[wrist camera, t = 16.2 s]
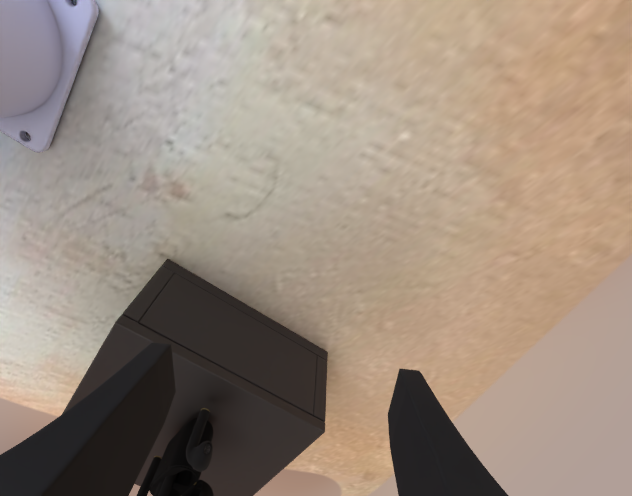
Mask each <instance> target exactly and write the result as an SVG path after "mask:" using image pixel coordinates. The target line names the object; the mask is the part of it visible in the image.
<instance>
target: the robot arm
mask: <svg viewBox="0 0 632 496" xmlns="http://www.w3.org/2000/svg"><path fill="white" fill-rule="evenodd" d="M98 13H99V9H98V5H97V3H96V1H95V0H77V4H76V6H74V5H73V4H72V2H71V0H0V131H1V132H3V133H4V134H6V135H8V136H9V137H11V138H13V139H14V140H16V141H18V142H19V143H21V144H23V145H24V146H26V147H28V148H29V149H31V150H33V151H35V152H43V151H46V150H48V148H49V147H50V144H51V141H52V139H53V136H54V133H55V131H56V128H57V125H58V123H59V120H60V117H61V114H62V112H63V109H64V106H65V104H66V101H67V98H68V96H69V93H70V90H71V87H72V85H73V82H74V79H75V77H76V74H77V71H78V69H79V66H80V63H81V60H82V58H83V55H84V52H85V50H86V47H87V44H88V42H89V39H90V36H91V33H92V31H93V28H94V25H95V23H96V20H97V17H98ZM25 132H27V133H28V134H29V135H30V140H29V139H28V138H27V137H26V135H25ZM175 393H176V387H175V378H174V368H173V358H172V348H171V344H162V343H153V342H152V343H150V344H149V345H148V346H147V347H146V348H144V349H143V350H142V351H141V352H140V353H138V354H137V355H136V356H135V357H134V358H133V359H131V360H130V361H129V362H128V363H127V364H125V365H124V366H123V367H122V368H121V369H120V370H118V371H117V372H116V373H115V374H114V375H112V376H111V377H110V378H109V379H107V380H106V381H105V382H104V383H103V384H101V385H100V386H99V387H98V388H96V389H95V390H94V391H93V392H91V393H90V394H89V395H88V396H86V397H85V398H84V399H82V400H81V401H80V402H78V403H77V404H76V405H74V406H73V407H72V408H70V409H69V410H68V411H66V412H65V413H64V414H62V415H61V416H60V417H58V418H57V419H55V420H54V421H52V422H51V423H50V424H48V425H47V426H45V427H44V428H42V429H41V430H39V431H38V432H36V433H35V434H33V435H32V436H30V437H29V438H27V439H26V440H24V441H23V442H21V443H20V444H18V445H16V446H15V447H13V448H11V449H10V450H8V451H6V452H5V453H3V454H1V455H0V496H128V495H129V493H130V491H131V489H132V487H133V485H134V483H135V481H136V479H137V477H138V475H139V473H140V471H141V469H142V467H143V465H144V463H145V461H146V459H147V458H148V456H149V454H150V452H151V450H152V448H153V446H154V443H155V441H156V439H157V437H158V435H159V433H160V431H161V429H162V427H163V425H164V423H165V420H166V418H167V415H168V412H169V410H170V407H171V404H172V401H173V398H174V395H175ZM388 423H389V438H390V449H391V455H392V461H393V466H394V472H395V477H396V483H397V488H398V494H399V496H508V495H507V494H506V493H505V491H504V490H503V489H502V488H501V487H500V485H499V484H498V483H497V482H496V481H495V480H494V478H493V477H492V476H491V475H490V473H489V472H488V471H487V469H486V468H485V467H484V466H483V465H482V463H481V462H480V461H479V459H478V458H477V457H476V455H475V454H474V453H473V451H472V450H471V449H470V447H469V446H468V445H467V443H466V442H465V440H464V439H463V438H462V436H461V435H460V433H459V432H458V430H457V429H456V427H455V426H454V424H453V423H452V422H451V420H450V419H449V417H448V416H447V414H446V413H445V411H444V409H443V408H442V406H441V405H440V403H439V402H438V400H437V398H436V397H435V395H434V394H433V392H432V390H431V389H430V387H429V385H428V384H427V382H426V380H425V379H424V377H423V375H422V374H421V373H420V371H416V370H407V369H400V370H399V373H398V377H397V381H396V385H395V389H394V393H393V397H392V400H391V404H390V408H389V412H388Z"/></svg>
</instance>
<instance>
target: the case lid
mask: <svg viewBox="0 0 632 496" xmlns="http://www.w3.org/2000/svg"><path fill="white" fill-rule="evenodd" d="M152 342H153V343H162V344H171V348H172V358H173V368H174V378H175V387H176V393H175V395H174V398H173V401H172V404H171V407H170V410H169V412H168V415H167V418H166V420H165V423H164V425H163V427H162V429H161V431H160V433H159V435H158V437H157V439H156V441H155V443H154V446H153V448H152V450H151V452H150V454H149V456H148V458H147V459H146V461H145V463H144V465H143V467H142V469H141V471H140V473H139V475H138V477H137V479H136V481H135V483H134V484H137V485H139V486H141V485H142V482H143V480H144V478H145V476H146V474H147V471H148V469H149V467H150V465H151V462H152V460H153V458H154V457H155V456H160V457H161V458H162V457H163V454H164V452H165V450H166V447H167V445H168V443H169V442H170V440H171V439H172V438H173V437H174V436H175V435H176V434H177V433H178V432H179V431H180V430H181V429H182V428H183V427H184V426H185V425H186V424H187V423H188V422H189V421H190V420H192V419H194V418H198V416H199V413H200V411H201V409H202V408H206V409H208V410H209V411H210V413H209V416H208V419H207V420H208V421H209V422H210V423H211V424H212V427H213V438H212V441H211V443H212V445H213V453H212V458H211V461H210V464H209V466H208V468H207V469H206V470H204V471H202V472H201V475H200V478H199V480H203V481H205V482H207V483H208V484H209V485H210V487H211V488H212V490H213V495H214V496H253V495H254V494H255V493H257V492H258V491H259V490H260V489H261V488H262V487H263V486H264V485H265V484H267V483H268V482H269V481H270V480H271V479H272V478H273V477H275V476H276V475H277V474H278V473H279V472H280V471H281V470H283V469H284V468H285V467H286V466H287V465H288V464H289V463H290V462H292V461H293V460H294V459H295V458H296V457H297V456H298V455H299V454H301V453H302V452H303V451H304V450H305V449H306V448H307V447H308V446H310V445H311V444H312V443H313V442H314V441H315V440H316V439H317V438H319V437H320V436H321V435H322V434H323V433H324V432H325V422H323V421H321V420H319V419H317V418H315V417H314V416H312V415H310V414H308V413H306V412H304V411H302V410H300V409H298V408H297V407H295V406H293V405H291V404H289V403H287V402H285V401H283V400H282V399H280V398H278V397H276V396H274V395H272V394H270V393H268V392H266V391H265V390H263V389H261V388H259V387H257V386H255V385H253V384H251V383H250V382H248V381H246V380H244V379H242V378H240V377H238V376H236V375H234V374H233V373H231V372H229V371H227V370H225V369H223V368H221V367H219V366H218V365H216V364H214V363H212V362H210V361H208V360H206V359H204V358H202V357H201V356H199V355H197V354H195V353H193V352H191V351H189V350H187V349H186V348H184V347H182V346H180V345H178V344H176V343H174V342H172V341H170V340H169V339H167V338H165V337H163V336H161V335H159V334H157V333H155V332H154V331H152V330H150V329H148V328H146V327H144V326H142V325H140V324H138V323H137V322H135V321H133V320H131V319H129V318H127V317H125V316H123V315H122V316H120V317H119V319H118V320H117V321H116V322H115V324H114V326H113V328H112V329H111V331H110V333H109V334H108V336H107V338H106V340H105V341H104V343H103V345H102V346H101V348H100V350H99V352H98V353H97V355H96V357H95V358H94V360H93V362H92V364H91V365H90V367H89V369H88V371H87V372H86V374H85V376H84V377H83V379H82V381H81V383H80V384H79V386H78V388H77V389H76V391H75V393H74V395H73V396H72V398H71V400H70V402H69V403H68V405H67V407H66V408H65V410H64V412H63V414H64V413H65V412H66V411H68V410H69V409H70V408H72V407H73V406H74V405H76V404H77V403H78V402H80V401H81V400H82V399H84V398H85V397H86V396H88V395H89V394H90V393H91V392H93V391H94V390H95V389H96V388H98V387H99V386H100V385H101V384H103V383H104V382H105V381H106V380H107V379H109V378H110V377H111V376H112V375H114V374H115V373H116V372H117V371H118V370H120V369H121V368H122V367H123V366H124V365H125V364H127V363H128V362H129V361H130V360H131V359H133V358H134V357H135V356H136V355H137V354H138V353H140V352H141V351H142V350H143V349H144V348H146V347H147V346H148V345H149V344H150V343H152Z"/></svg>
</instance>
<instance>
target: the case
mask: <svg viewBox="0 0 632 496" xmlns="http://www.w3.org/2000/svg"><path fill="white" fill-rule="evenodd" d="M122 315H123V316H125V317H127V318H129V319H131V320H133V321H135V322H137V323H138V324H140V325H142V326H144V327H146V328H148V329H150V330H152V331H154V332H155V333H157V334H159V335H161V336H163V337H165V338H167V339H169V340H170V341H172V342H174V343H176V344H178V345H180V346H182V347H184V348H186V349H187V350H189V351H191V352H193V353H195V354H197V355H199V356H201V357H202V358H204V359H206V360H208V361H210V362H212V363H214V364H216V365H218V366H219V367H221V368H223V369H225V370H227V371H229V372H231V373H233V374H234V375H236V376H238V377H240V378H242V379H244V380H246V381H248V382H250V383H251V384H253V385H255V386H257V387H259V388H261V389H263V390H265V391H266V392H268V393H270V394H272V395H274V396H276V397H278V398H280V399H282V400H283V401H285V402H287V403H289V404H291V405H293V406H295V407H297V408H298V409H300V410H302V411H304V412H306V413H308V414H310V415H312V416H314V417H315V418H317V419H319V420H321V421H323V422H325V410H326V380H327V355H328V352H326V351H325V350H323V349H321V348H319V347H318V346H316V345H314V344H313V343H311V342H309V341H307V340H306V339H304V338H302V337H301V336H299V335H297V334H295V333H294V332H292V331H290V330H289V329H287V328H285V327H283V326H282V325H280V324H278V323H277V322H275V321H273V320H271V319H270V318H268V317H266V316H265V315H263V314H261V313H259V312H258V311H256V310H254V309H253V308H251V307H249V306H247V305H246V304H244V303H242V302H241V301H239V300H237V299H236V298H234V297H232V296H230V295H229V294H227V293H225V292H224V291H222V290H220V289H218V288H217V287H215V286H213V285H212V284H210V283H208V282H206V281H205V280H203V279H201V278H200V277H198V276H196V275H194V274H193V273H191V272H189V271H188V270H186V269H184V268H182V267H181V266H179V265H177V264H176V263H174V262H172V261H170V260H169V259H167V260H166V261H165V262H164V264H163V265H162V266H161V267H160V269H159V270H158V271H157V272H156V274H155V275H154V276H153V277H152V278H151V280H150V281H149V282H148V283H147V285H146V286H145V287H144V288H143V289H142V291H141V292H140V293H139V294H138V295H137V297H136V298H135V299H134V300H133V302H132V303H131V304H130V305H129V306H128V308H127V309H126V310H125V311H124V313H123V314H122Z"/></svg>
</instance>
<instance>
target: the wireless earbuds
mask: <svg viewBox="0 0 632 496" xmlns="http://www.w3.org/2000/svg"><path fill="white" fill-rule="evenodd" d="M209 413H210V411H209V410H208V409H206V408H202V409H201V411H200V413H199V416H198V418H194V419H192V420H190V421H189V422H188V423H187V424H186V425H185V426H184V427H183V428H182V429H181V430H180V431H179V432H178V433H177V434H176V435H175V436H174V437H173V438H172V439H171V440H170V442H169V443H168V445H167V447H166V450H165V452H164V454H163V457H162V458H161V457H160V456H155V457H154V458H153V460H152V462H151V465H150V467H149V469H148V471H147V474H146V476H145V478H144V480H143V482H142V485H141V487H140V489H139V491H138V494H137V496H147V494H148V491H149V490H150V493H151V494H152V495H153V496H214V495H213V490H212V488H211V487H210V485H209V484H208V483H207V482H205V481H203V480H199V478H200V475H201V472H202V471H204V470H206V469H207V468H208V466H209V464H210V461H211V458H212V453H213V445H212V443H211V441H212V438H213V427H212V424H211V423H210V422H209V421H208V420H207V419H208V416H209Z"/></svg>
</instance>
